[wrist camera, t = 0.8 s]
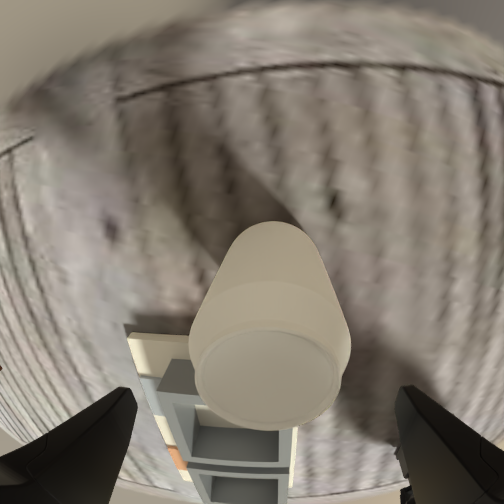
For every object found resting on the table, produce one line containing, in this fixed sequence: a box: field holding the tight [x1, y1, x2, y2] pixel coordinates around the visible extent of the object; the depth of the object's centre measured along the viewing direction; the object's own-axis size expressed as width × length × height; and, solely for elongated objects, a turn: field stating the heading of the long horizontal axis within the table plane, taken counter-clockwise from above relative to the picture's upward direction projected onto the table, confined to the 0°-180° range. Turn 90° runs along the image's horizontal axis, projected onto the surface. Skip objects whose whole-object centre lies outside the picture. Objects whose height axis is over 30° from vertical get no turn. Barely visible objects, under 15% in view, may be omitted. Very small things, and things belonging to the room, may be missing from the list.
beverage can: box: [188, 221, 351, 431], centre depth 15 cm, size 6×6×12 cm
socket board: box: [127, 332, 298, 504], centre depth 24 cm, size 14×24×5 cm, turn 3°
